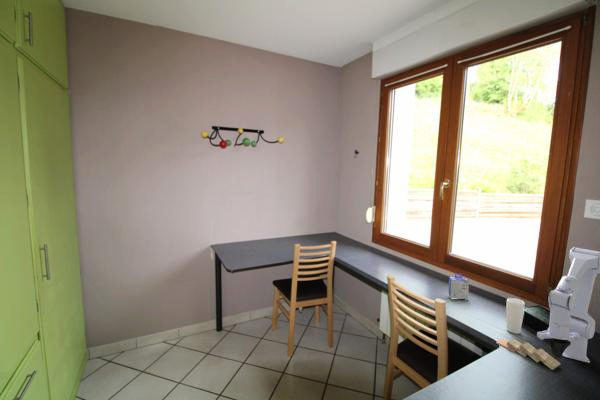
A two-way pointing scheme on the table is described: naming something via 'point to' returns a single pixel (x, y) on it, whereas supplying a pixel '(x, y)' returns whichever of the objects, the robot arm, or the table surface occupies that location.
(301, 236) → the table surface
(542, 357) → the domino
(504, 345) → the salmon orange block
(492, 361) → the table surface
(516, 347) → the domino
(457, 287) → the ink cartridge box
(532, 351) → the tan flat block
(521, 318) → the drinking glass
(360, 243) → the table surface
